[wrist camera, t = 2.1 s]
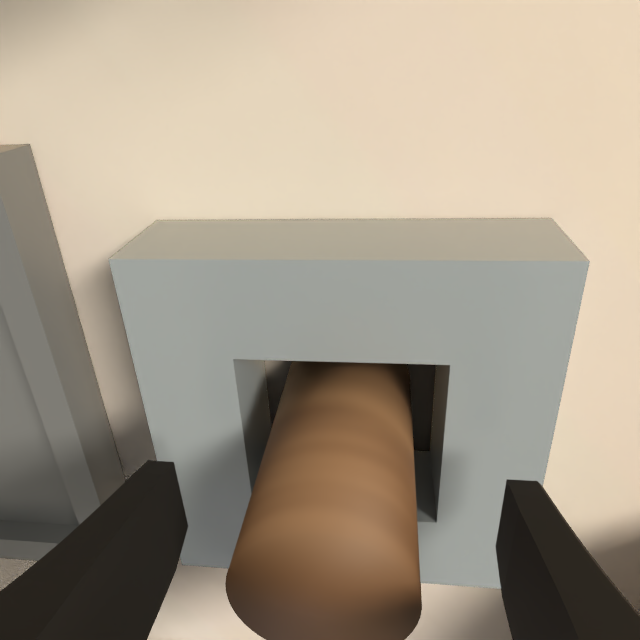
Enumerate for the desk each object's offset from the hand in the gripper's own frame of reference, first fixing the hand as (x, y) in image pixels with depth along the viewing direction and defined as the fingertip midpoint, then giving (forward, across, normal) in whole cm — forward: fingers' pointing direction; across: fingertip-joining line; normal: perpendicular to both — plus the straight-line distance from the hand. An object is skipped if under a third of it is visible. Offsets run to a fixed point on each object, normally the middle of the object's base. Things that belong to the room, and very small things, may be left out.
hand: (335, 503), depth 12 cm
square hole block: (+5, 0, 0) cm, 5 cm away
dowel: (+5, 0, 0) cm, 5 cm away
